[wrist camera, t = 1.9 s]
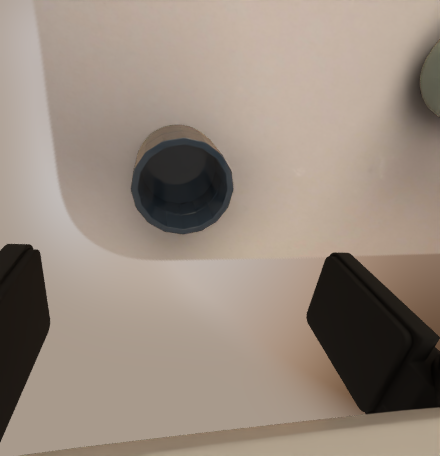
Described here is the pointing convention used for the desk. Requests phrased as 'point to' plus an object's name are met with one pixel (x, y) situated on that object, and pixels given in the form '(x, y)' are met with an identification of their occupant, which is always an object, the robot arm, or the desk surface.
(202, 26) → the desk surface
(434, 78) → the cup
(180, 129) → the dark blue faceted tumbler
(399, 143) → the desk surface
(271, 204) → the desk surface
